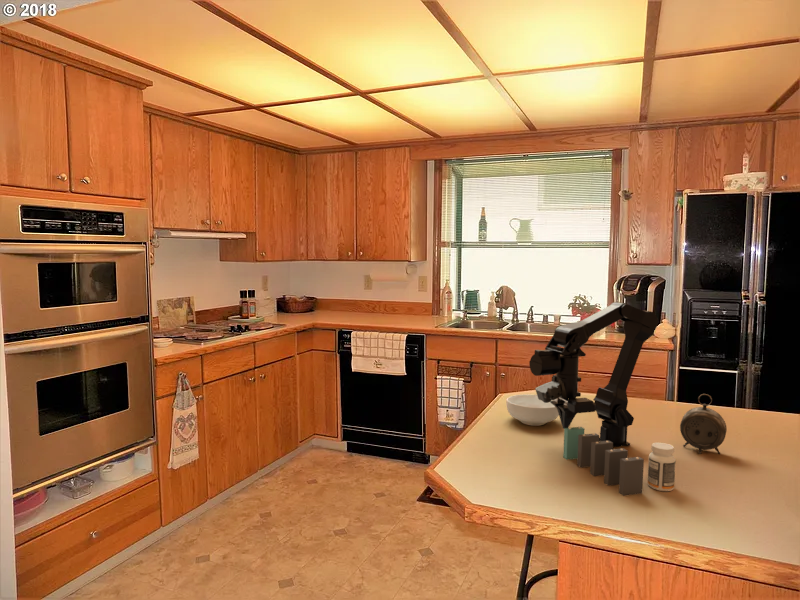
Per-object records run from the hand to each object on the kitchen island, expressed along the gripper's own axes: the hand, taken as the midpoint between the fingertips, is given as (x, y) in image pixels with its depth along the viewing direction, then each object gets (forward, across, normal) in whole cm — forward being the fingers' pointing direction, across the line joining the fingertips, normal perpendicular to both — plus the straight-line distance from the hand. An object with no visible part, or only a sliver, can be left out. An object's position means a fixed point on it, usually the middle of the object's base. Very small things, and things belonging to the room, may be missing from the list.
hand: (565, 428), depth 152 cm
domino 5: (+6, +28, 0) cm, 28 cm away
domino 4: (+6, +22, 0) cm, 23 cm away
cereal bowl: (+6, -24, +4) cm, 26 cm away
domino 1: (+6, +6, -1) cm, 8 cm away
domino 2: (+6, +11, 0) cm, 13 cm away
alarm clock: (+6, +10, +36) cm, 38 cm away
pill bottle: (+6, +26, +9) cm, 29 cm away
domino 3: (+6, +16, 0) cm, 18 cm away
